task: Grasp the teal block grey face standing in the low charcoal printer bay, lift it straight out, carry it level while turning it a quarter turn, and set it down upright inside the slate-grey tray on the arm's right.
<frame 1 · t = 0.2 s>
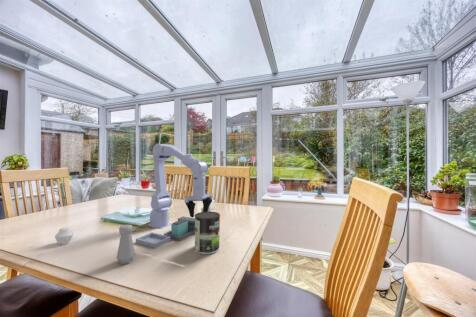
hand: (198, 215, 99), 10 cm above the table, fingers open, 7 cm apart
teal block grey face: (179, 235, 99), resting on bay
coffee can: (207, 249, 86), on the table
salt shaker: (125, 262, 75), on the table
muffin: (64, 243, 89), on the table
ink cartridge box: (208, 228, 110), on the table
tray: (153, 242, 91), on the table
bay: (179, 235, 99), on the table
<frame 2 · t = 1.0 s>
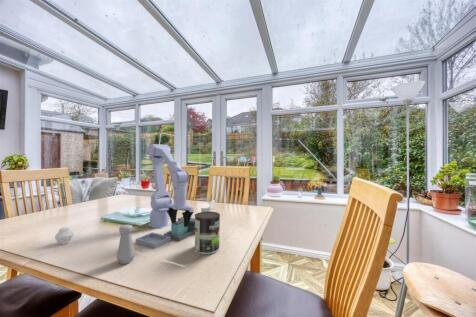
hand: (179, 225, 99), 5 cm above the table, fingers open, 7 cm apart
nothing on the table moved.
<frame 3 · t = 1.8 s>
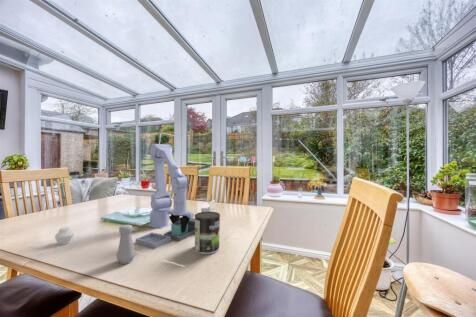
hand: (179, 230, 99), 2 cm above the table, fingers closed on teal block grey face, 4 cm apart
teal block grey face: (179, 235, 99), resting on bay, touching gripper
everything else where it was.
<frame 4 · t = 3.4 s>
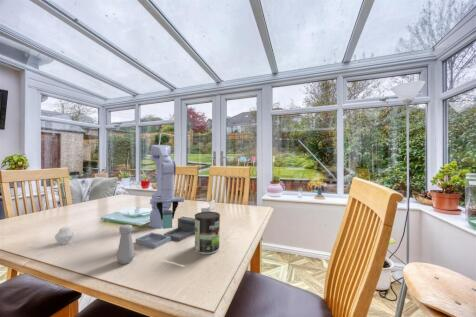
hand: (167, 218, 95), 9 cm above the table, fingers closed on teal block grey face, 4 cm apart
teal block grey face: (167, 225, 95), point 6 cm above the table, touching gripper
everything else where it was.
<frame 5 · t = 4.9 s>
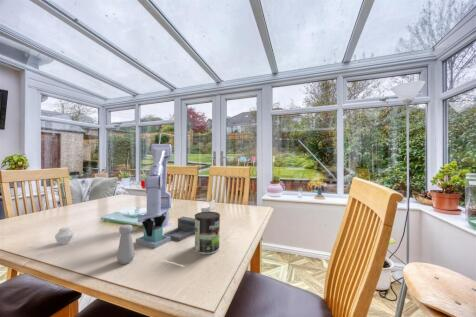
hand: (153, 234, 91), 4 cm above the table, fingers closed on teal block grey face, 4 cm apart
teal block grey face: (153, 241, 91), point 1 cm above the table, touching gripper, tray
everything else where it was.
when the fingers open (4 cm above the table, at t = 5.3 s): teal block grey face stays where it is, resting on tray.
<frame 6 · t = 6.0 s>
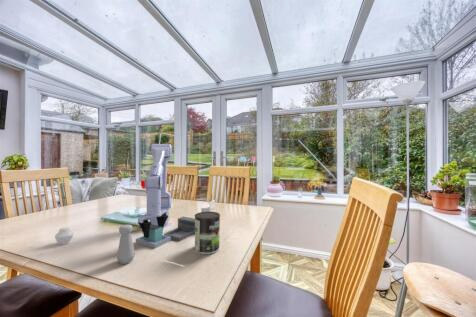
hand: (153, 234, 91), 4 cm above the table, fingers open, 7 cm apart
teal block grey face: (153, 241, 91), point 1 cm above the table, touching tray
everything else where it was.
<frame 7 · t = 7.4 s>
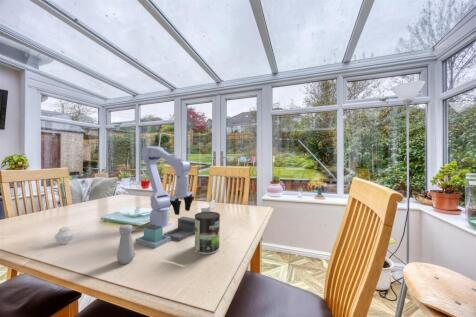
hand: (182, 212, 103), 10 cm above the table, fingers open, 7 cm apart
nothing on the table moved.
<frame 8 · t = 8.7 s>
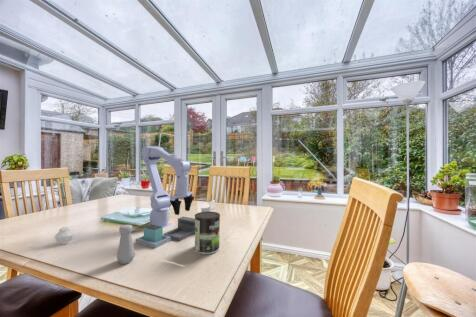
hand: (182, 212, 103), 10 cm above the table, fingers open, 7 cm apart
nothing on the table moved.
at the end: teal block grey face inside the target area on the tray (0.3 cm from its centre), point 0.6 cm above the tray's base; teal block grey face tilted 0°; the gripper is holding nothing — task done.
